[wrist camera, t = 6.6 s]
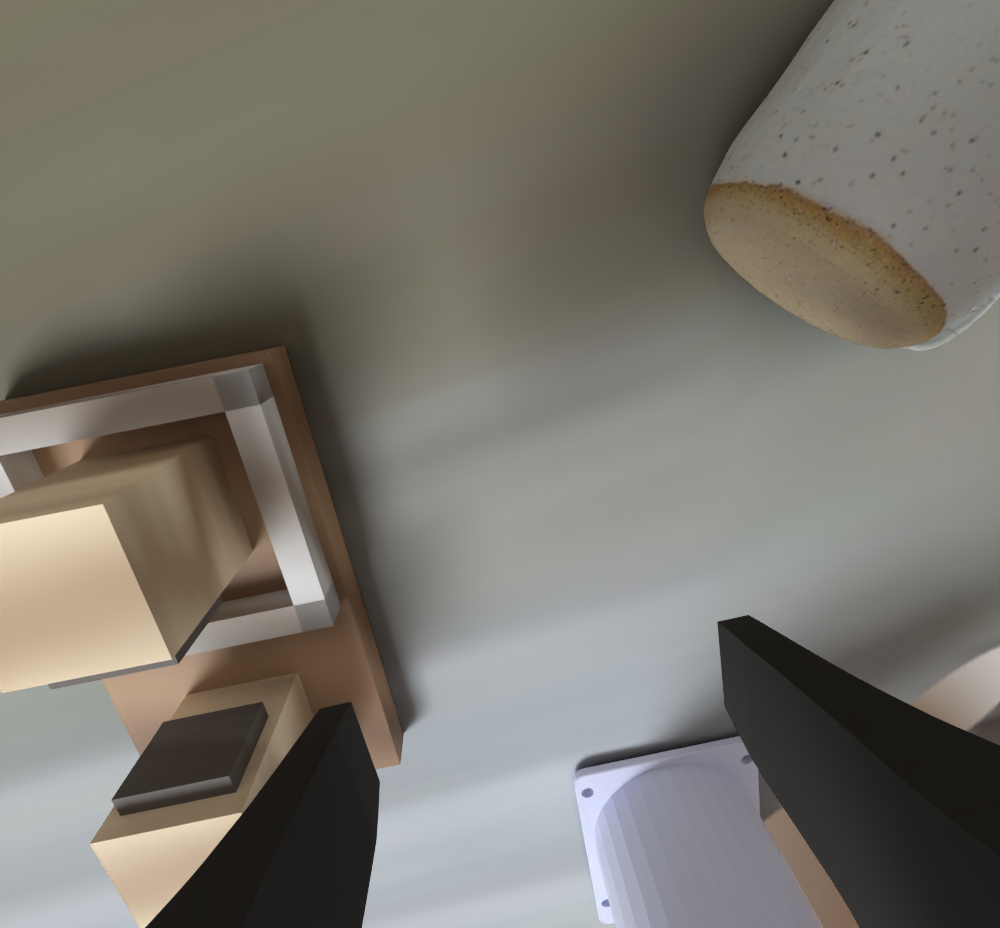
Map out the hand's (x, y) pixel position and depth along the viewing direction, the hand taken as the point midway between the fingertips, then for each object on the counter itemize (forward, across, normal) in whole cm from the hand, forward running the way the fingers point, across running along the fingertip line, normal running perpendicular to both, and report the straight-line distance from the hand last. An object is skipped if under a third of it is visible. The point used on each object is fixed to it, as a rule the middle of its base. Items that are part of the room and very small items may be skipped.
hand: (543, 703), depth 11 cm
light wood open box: (+10, +10, +1) cm, 14 cm away
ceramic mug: (+10, -13, -8) cm, 18 cm away
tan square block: (+8, +10, -3) cm, 14 cm away
